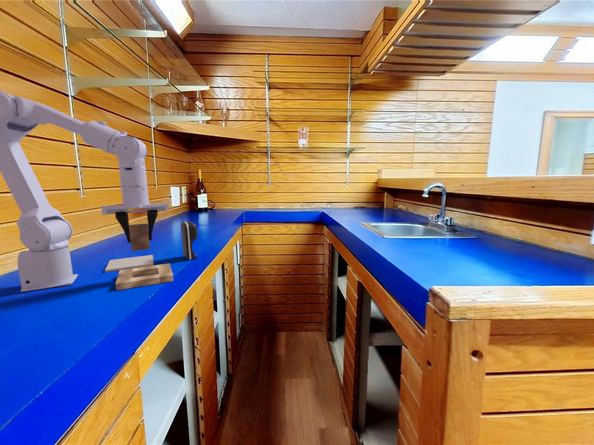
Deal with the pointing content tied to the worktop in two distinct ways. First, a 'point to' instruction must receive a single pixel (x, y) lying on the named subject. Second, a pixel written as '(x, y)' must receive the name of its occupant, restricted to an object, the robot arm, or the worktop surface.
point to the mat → (129, 263)
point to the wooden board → (127, 280)
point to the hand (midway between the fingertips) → (140, 240)
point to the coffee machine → (188, 238)
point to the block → (139, 237)
